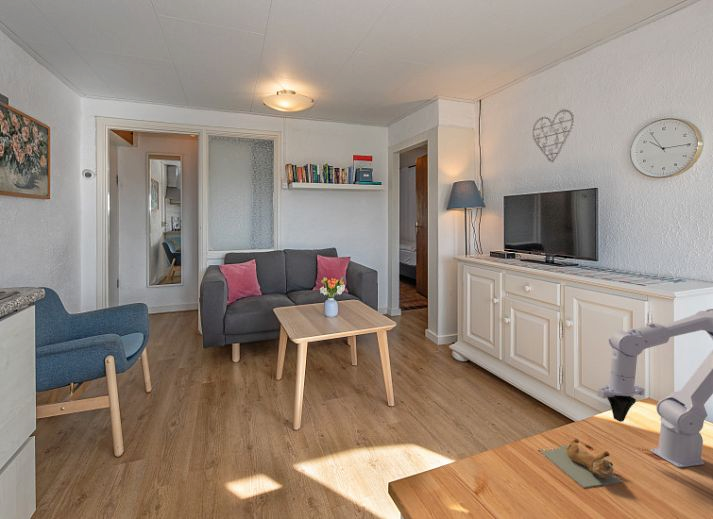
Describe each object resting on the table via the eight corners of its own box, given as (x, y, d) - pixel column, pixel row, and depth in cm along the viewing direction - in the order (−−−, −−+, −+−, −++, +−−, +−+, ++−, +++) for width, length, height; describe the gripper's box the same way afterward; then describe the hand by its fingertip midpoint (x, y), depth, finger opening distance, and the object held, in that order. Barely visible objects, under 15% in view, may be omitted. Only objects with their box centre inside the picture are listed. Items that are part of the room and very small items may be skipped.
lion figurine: (622, 451, 94) (603, 464, 90) (628, 472, 93) (608, 486, 89) (568, 435, 107) (548, 446, 103) (572, 454, 106) (553, 466, 102)
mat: (572, 446, 108) (572, 445, 108) (623, 482, 92) (623, 481, 92) (537, 450, 105) (537, 448, 105) (583, 488, 90) (583, 486, 90)
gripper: (629, 367, 110) (625, 411, 111) (590, 370, 107) (586, 415, 108) (653, 376, 103) (648, 423, 104) (612, 379, 100) (607, 427, 101)
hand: (618, 419), depth 106 cm, fingers closed
